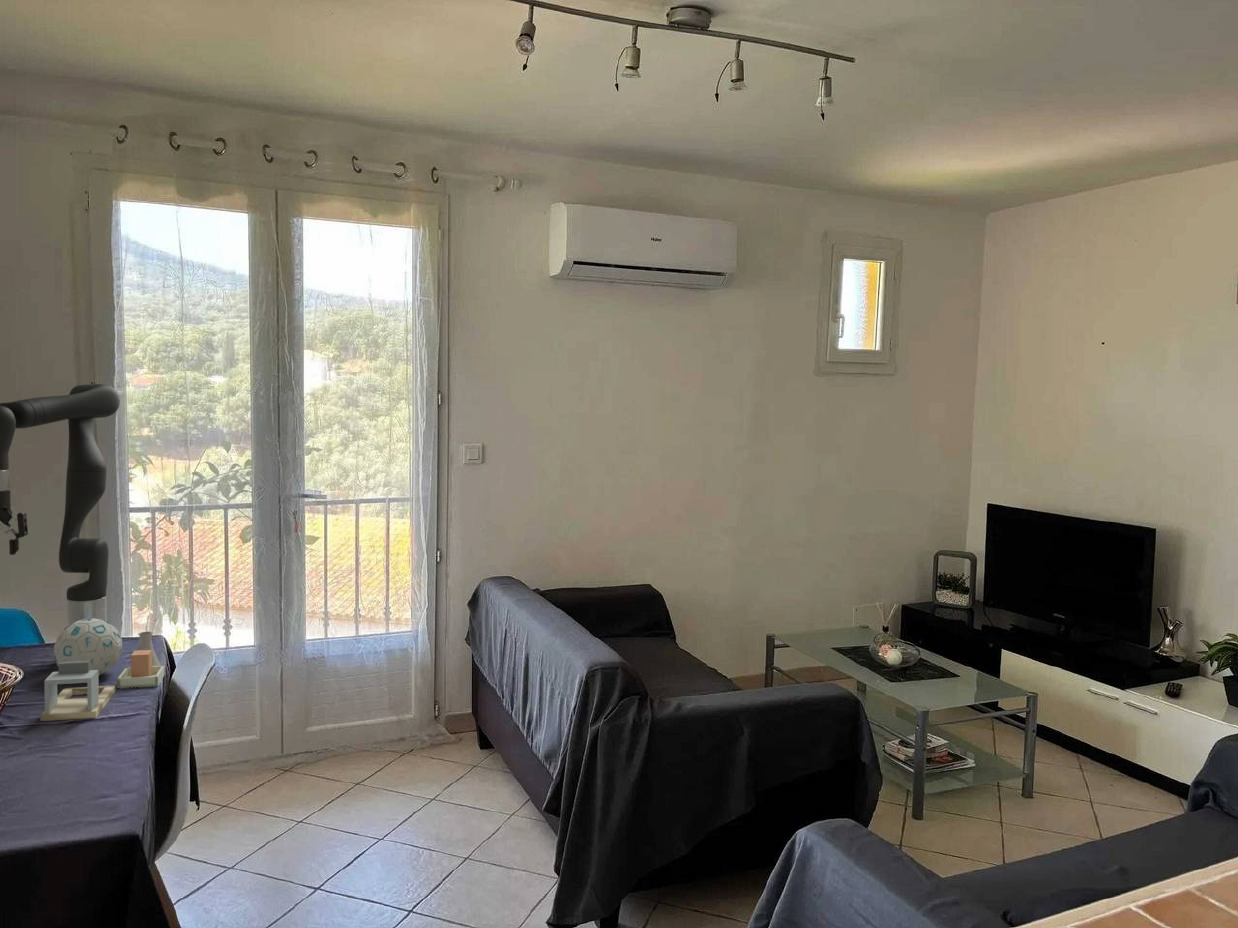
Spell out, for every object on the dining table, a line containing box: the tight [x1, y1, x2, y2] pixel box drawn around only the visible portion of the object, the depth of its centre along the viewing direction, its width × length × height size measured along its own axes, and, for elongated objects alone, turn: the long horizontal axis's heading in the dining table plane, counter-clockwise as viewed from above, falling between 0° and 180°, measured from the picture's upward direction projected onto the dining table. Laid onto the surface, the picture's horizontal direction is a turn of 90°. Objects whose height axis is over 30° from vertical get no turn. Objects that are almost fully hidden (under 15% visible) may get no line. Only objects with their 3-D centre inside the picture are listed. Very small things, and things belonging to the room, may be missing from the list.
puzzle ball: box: [53, 618, 123, 677], centre depth 224 cm, size 15×15×15 cm
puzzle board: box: [39, 685, 116, 722], centre depth 205 cm, size 18×11×2 cm, turn 17°
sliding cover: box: [43, 660, 100, 713], centre depth 199 cm, size 6×9×10 cm, turn 107°
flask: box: [136, 630, 162, 666], centre depth 231 cm, size 7×7×10 cm
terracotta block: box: [130, 649, 152, 677], centre depth 222 cm, size 4×4×7 cm
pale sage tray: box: [116, 665, 166, 689], centre depth 222 cm, size 9×9×2 cm
